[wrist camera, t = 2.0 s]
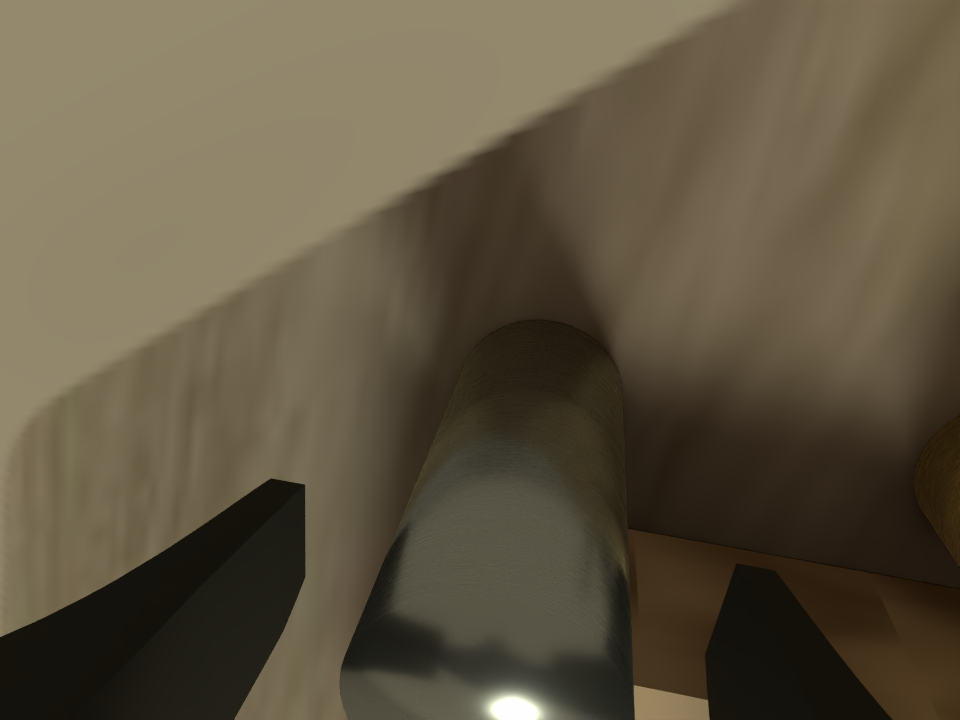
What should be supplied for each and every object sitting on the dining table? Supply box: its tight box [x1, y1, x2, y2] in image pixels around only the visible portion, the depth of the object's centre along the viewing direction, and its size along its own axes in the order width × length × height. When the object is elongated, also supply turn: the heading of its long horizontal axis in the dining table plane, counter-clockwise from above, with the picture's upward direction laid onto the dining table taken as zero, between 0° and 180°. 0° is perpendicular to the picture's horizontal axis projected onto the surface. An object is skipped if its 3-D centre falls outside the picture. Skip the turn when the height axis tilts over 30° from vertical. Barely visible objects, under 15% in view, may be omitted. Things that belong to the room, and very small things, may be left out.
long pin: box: [340, 320, 635, 720], centre depth 14 cm, size 4×4×9 cm
